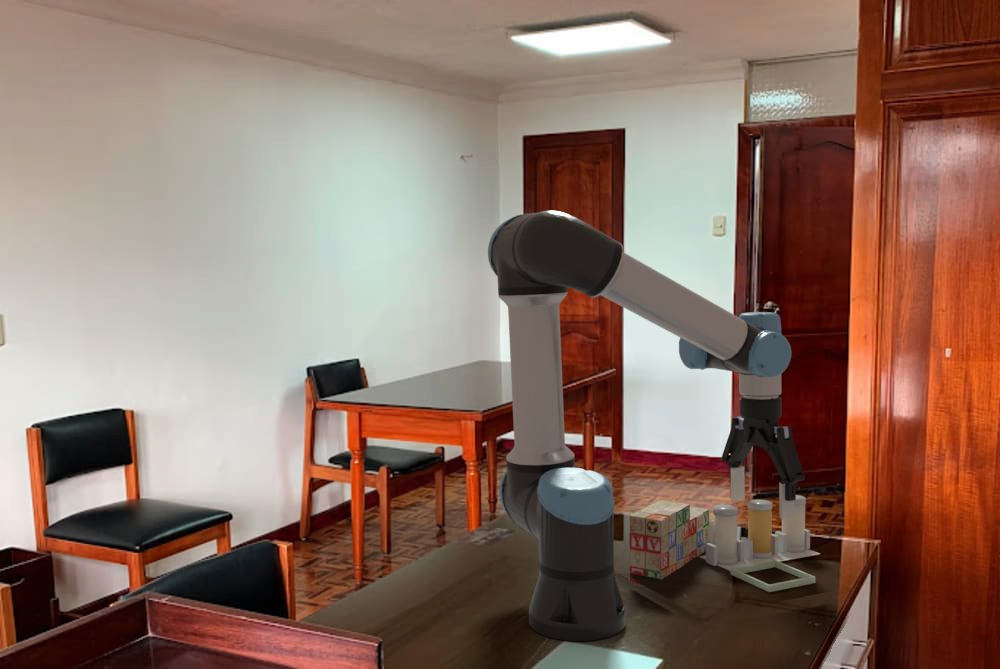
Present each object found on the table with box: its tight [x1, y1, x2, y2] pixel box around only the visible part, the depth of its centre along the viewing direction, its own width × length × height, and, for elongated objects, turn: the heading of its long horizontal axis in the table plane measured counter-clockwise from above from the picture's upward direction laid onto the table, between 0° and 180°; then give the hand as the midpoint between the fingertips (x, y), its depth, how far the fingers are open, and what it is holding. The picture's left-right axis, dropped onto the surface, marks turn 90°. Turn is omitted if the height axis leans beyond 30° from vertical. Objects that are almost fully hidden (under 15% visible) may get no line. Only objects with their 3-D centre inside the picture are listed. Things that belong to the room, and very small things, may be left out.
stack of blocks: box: [629, 499, 711, 584], centre depth 169 cm, size 21×6×12 cm, turn 144°
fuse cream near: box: [712, 504, 739, 565], centre depth 168 cm, size 4×4×10 cm
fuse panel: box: [698, 528, 820, 572], centre depth 171 cm, size 22×9×5 cm, turn 114°
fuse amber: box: [747, 499, 773, 559], centre depth 171 cm, size 4×4×10 cm
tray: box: [729, 560, 816, 593], centre depth 159 cm, size 10×10×2 cm
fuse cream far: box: [781, 494, 807, 553], centre depth 174 cm, size 4×4×10 cm
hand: (761, 509), depth 171 cm, fingers open, 13 cm apart
